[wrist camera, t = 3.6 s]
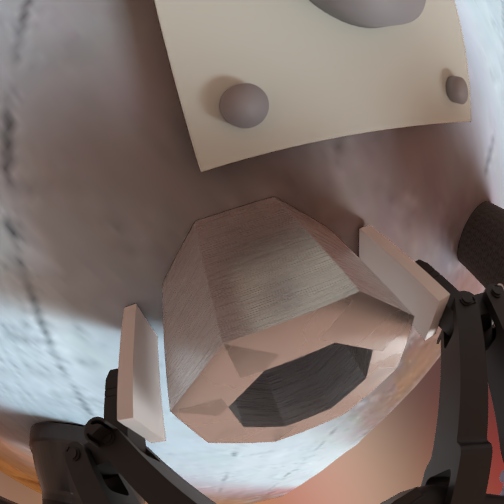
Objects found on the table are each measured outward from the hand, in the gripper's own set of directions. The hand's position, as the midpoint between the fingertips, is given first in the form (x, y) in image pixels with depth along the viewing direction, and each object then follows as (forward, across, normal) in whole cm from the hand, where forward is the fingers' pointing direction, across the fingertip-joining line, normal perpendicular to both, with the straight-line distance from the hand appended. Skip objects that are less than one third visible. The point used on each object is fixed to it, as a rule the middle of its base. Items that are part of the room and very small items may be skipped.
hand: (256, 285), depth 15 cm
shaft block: (0, +7, +15) cm, 17 cm away
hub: (0, 0, 0) cm, 0 cm away
